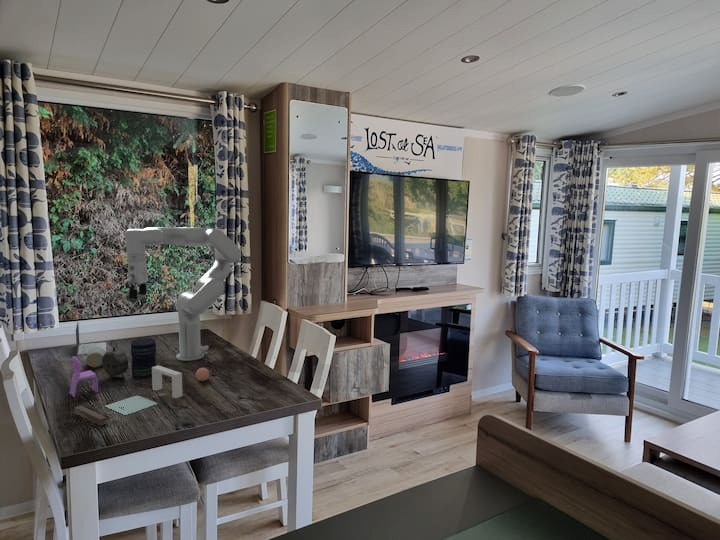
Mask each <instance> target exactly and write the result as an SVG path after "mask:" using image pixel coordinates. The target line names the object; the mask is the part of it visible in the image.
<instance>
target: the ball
mask: <svg viewBox="0 0 720 540" xmlns="http://www.w3.org/2000/svg"><path fill="white" fill-rule="evenodd" d="M209 377H210V370H208V369H207V368H206V367H200V368H198V369H197V370H196V372H195V378H196V379H197V381H200V382H205V381H207V380H209Z"/></svg>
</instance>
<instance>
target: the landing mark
mask: <svg viewBox="0 0 720 540" xmlns="http://www.w3.org/2000/svg"><path fill="white" fill-rule="evenodd" d="M153 405H154V406H156V405H159V403H158V402H155V401H154V400H150V399H148V398H146V397H143V396H140V395H138V394H137V395H134V396H131V397H128V398H125V399H121V400H119V401H116V402H113V403H109V404H106V405H104V406H105V408H106V407H107V409H109V410H111V409H112V410H111V411H113V410H114V411H113V412H115V411H116V412H115V413H118V412H119V413H118V414H120V413H121V414H120V415H122V414H123V415H122V416H124V415H126V416H129V415H131V414H135V413H137V412H139V411H143V410H146V409H147V408H150V406H151V407H154V406H153ZM119 407H120V408H119ZM121 407H122V409H121ZM123 407H124V408H123ZM123 409H124V410H123ZM142 409H143V410H142ZM128 414H129V415H128Z"/></svg>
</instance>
